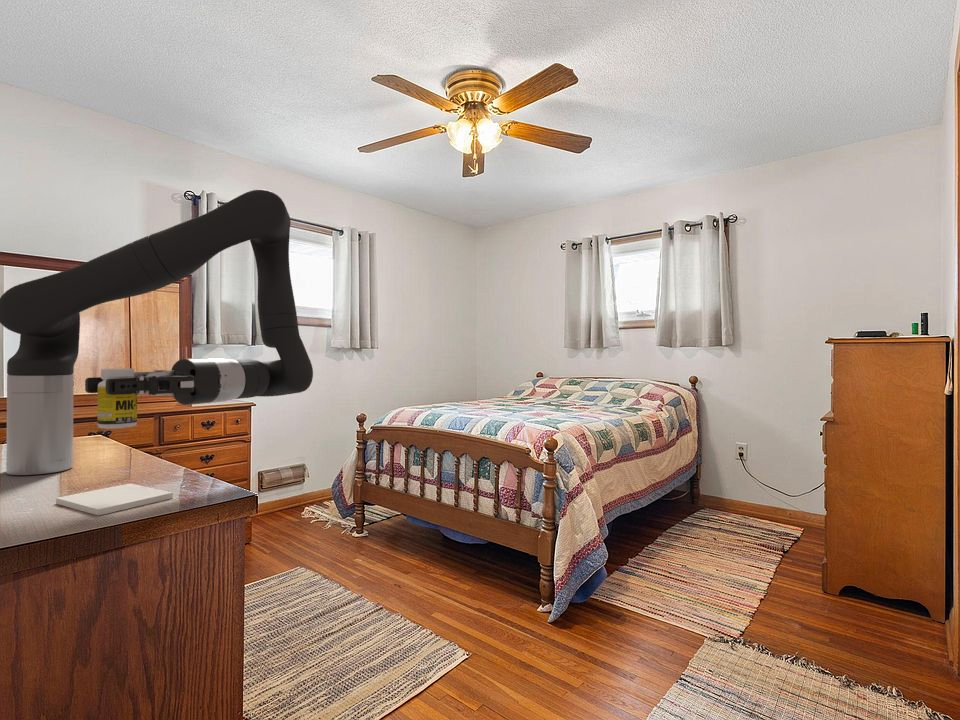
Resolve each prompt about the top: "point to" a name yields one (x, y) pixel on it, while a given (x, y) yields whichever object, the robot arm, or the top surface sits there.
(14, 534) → the top surface
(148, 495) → the mat
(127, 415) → the supplement bottle
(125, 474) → the top surface
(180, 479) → the top surface
